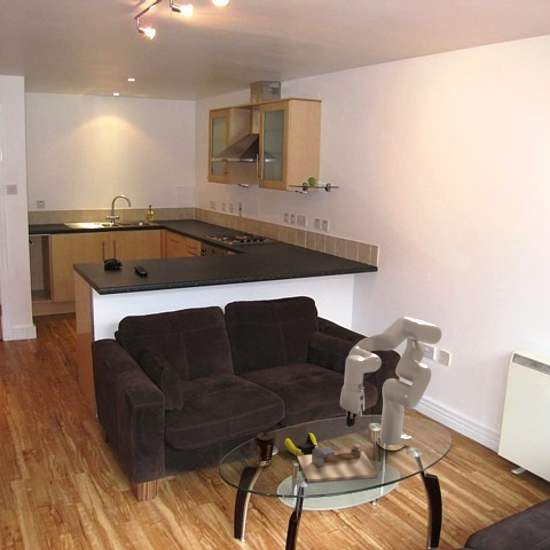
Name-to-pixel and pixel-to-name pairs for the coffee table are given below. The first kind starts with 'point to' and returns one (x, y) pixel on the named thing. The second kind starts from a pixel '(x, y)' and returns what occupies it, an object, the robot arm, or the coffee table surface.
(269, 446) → the coffee cup
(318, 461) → the keeper
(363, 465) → the pivot board
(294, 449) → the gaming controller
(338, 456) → the link
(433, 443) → the coffee table surface
